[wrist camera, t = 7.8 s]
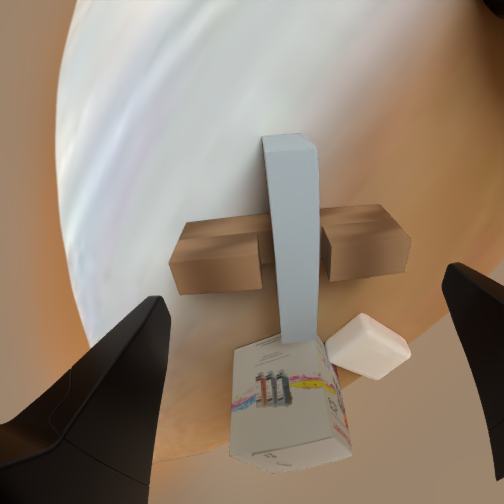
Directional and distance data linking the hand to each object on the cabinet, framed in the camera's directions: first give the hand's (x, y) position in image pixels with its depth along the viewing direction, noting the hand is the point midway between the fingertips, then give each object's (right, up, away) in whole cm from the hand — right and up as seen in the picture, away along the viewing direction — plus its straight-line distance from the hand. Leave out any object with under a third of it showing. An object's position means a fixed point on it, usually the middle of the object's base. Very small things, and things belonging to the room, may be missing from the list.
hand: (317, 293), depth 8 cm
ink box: (+2, -10, +20) cm, 23 cm away
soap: (+10, -8, +19) cm, 23 cm away
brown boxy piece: (+1, +3, +12) cm, 12 cm away
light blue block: (+1, +3, +12) cm, 12 cm away
